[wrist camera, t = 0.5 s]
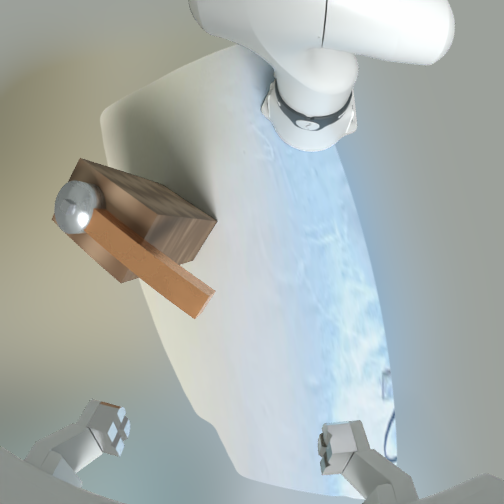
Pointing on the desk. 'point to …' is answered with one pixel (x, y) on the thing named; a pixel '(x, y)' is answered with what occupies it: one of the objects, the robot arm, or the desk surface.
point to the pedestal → (143, 217)
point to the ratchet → (128, 246)
